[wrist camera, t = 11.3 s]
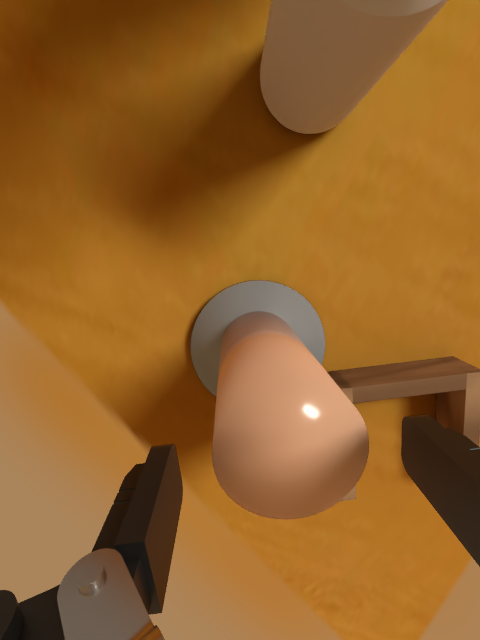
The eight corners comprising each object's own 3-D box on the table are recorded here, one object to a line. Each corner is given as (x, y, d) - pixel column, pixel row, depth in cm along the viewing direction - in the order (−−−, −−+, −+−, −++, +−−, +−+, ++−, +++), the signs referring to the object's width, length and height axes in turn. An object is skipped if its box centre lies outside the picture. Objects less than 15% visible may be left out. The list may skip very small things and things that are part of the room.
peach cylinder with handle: (215, 316, 22) (201, 391, 10) (293, 306, 22) (367, 370, 10) (230, 421, 24) (232, 587, 12) (301, 412, 24) (371, 569, 12)
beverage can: (290, 158, 20) (374, 32, 9) (238, 62, 19) (255, -243, 7) (374, 102, 20) (590, -116, 8) (328, -1, 18) (504, -445, 7)
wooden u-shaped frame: (321, 372, 24) (334, 389, 21) (452, 356, 24) (484, 371, 21) (327, 472, 26) (340, 501, 23) (448, 457, 26) (476, 483, 23)
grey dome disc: (181, 288, 22) (180, 289, 21) (318, 272, 22) (321, 272, 21) (201, 413, 24) (200, 417, 24) (325, 397, 24) (328, 401, 24)
